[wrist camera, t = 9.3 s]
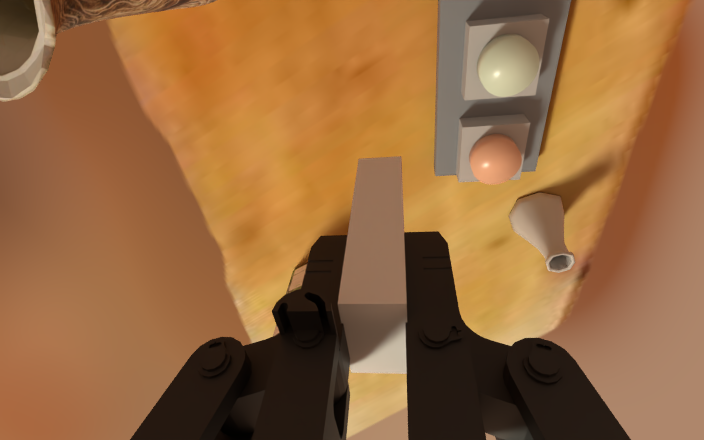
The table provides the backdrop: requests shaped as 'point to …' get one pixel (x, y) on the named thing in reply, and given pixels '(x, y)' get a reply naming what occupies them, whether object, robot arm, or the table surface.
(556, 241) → the flask
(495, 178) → the button terracotta
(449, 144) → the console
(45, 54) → the vase
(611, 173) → the table surface
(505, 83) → the button sage
